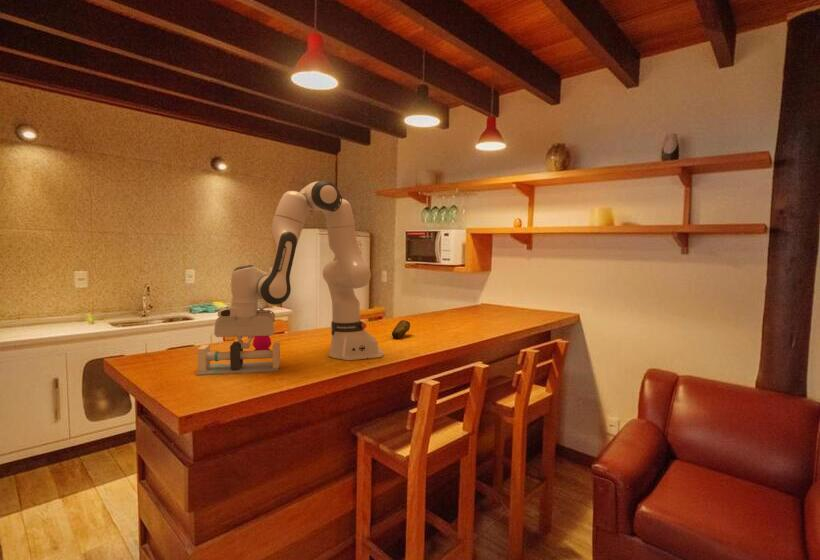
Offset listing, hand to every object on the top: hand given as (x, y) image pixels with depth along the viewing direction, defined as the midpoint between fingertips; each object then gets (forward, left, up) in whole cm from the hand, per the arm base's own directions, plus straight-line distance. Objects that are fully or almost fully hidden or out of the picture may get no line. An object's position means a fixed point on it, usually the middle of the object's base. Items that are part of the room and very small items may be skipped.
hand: (245, 348), depth 159 cm
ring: (+3, 0, -7) cm, 7 cm away
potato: (-66, -46, -8) cm, 81 cm away
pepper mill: (-3, -22, -8) cm, 24 cm away
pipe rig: (+2, 0, -8) cm, 8 cm away
